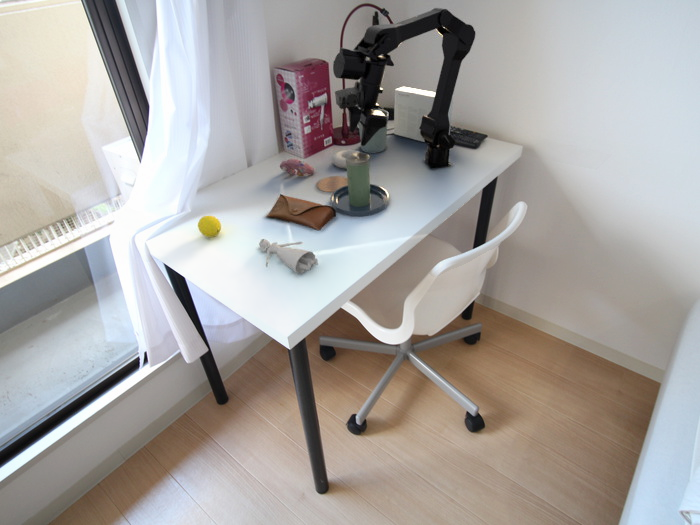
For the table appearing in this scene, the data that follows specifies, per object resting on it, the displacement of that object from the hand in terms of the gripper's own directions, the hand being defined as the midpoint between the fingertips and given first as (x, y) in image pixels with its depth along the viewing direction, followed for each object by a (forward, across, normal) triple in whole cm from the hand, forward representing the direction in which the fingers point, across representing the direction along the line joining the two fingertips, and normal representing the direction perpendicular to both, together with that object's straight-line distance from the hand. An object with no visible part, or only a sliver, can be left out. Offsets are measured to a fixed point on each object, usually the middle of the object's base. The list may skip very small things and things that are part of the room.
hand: (356, 138), depth 121 cm
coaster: (+16, -1, -3) cm, 16 cm away
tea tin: (+13, +12, 0) cm, 18 cm away
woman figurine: (+19, +30, -24) cm, 43 cm away
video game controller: (+19, -13, -11) cm, 25 cm away
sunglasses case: (+18, +13, -17) cm, 28 cm away
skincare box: (+7, -22, +35) cm, 42 cm away
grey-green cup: (+12, -22, +18) cm, 30 cm away
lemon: (+24, +12, -39) cm, 48 cm away
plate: (+14, +12, 0) cm, 18 cm away
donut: (+14, -13, +6) cm, 20 cm away
